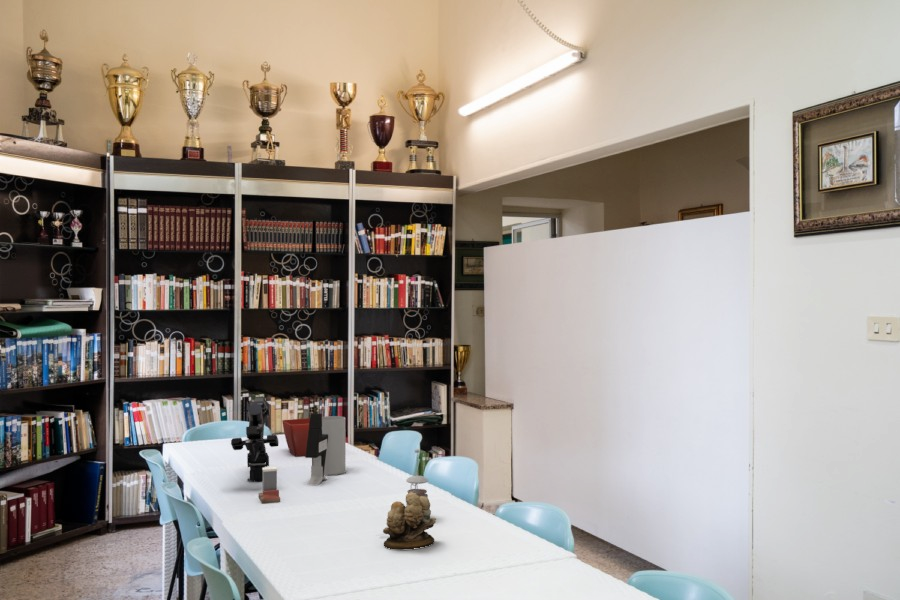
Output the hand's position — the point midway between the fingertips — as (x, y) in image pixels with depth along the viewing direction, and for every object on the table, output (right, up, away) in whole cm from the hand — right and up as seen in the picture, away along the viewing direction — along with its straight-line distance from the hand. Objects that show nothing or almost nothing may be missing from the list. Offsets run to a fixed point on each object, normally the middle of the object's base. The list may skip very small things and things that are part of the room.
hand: (254, 460), depth 329 cm
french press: (+68, -13, -37) cm, 79 cm away
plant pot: (+6, -13, +82) cm, 83 cm away
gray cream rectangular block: (+9, -11, -13) cm, 19 cm away
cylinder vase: (+26, -13, +37) cm, 47 cm away
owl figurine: (+68, -14, -69) cm, 98 cm away
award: (+23, -13, +18) cm, 32 cm away
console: (+9, -13, -12) cm, 20 cm away
